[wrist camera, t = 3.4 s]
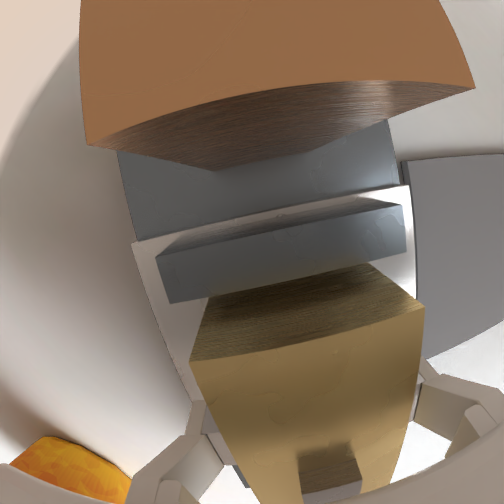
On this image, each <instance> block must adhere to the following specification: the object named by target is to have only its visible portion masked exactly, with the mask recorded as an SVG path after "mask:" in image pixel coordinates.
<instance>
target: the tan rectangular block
mask: <svg viewBox="0 0 504 504" xmlns="http://www.w3.org/2000/svg"><path fill="white" fill-rule="evenodd" d="M424 318H425V306H424V305H423V304H421V303H420V302H419V301H418V300H416V299H415V298H414V297H413V296H411V295H410V294H409V293H408V292H406V291H405V290H404V289H402V288H401V287H400V286H399V285H397V284H396V283H395V282H393V281H392V280H391V279H390V278H388V277H387V276H386V275H384V274H383V273H382V272H380V271H379V270H378V269H376V268H375V267H374V266H372V265H371V264H370V263H368V262H366V263H362V264H358V265H354V266H350V267H345V268H341V269H337V270H333V271H329V272H324V273H320V274H316V275H311V276H307V277H303V278H298V279H294V280H289V281H285V282H280V283H275V284H271V285H266V286H261V287H257V288H252V289H247V290H242V291H237V292H232V293H227V294H222V295H217V296H212V297H209V299H208V302H207V305H206V308H205V311H204V314H203V317H202V320H201V323H200V327H199V330H198V333H197V336H196V339H195V342H194V346H193V349H192V352H191V355H190V358H189V362H188V363H189V366H190V368H191V370H192V373H193V375H194V377H195V380H196V382H197V384H198V387H199V389H200V391H201V393H202V395H203V398H204V400H205V402H206V404H207V406H208V408H209V411H210V413H211V415H212V417H213V419H214V421H215V423H216V425H217V427H218V429H219V431H220V433H221V435H222V437H223V439H224V441H225V443H226V445H227V447H228V449H229V450H230V452H231V454H232V456H233V458H234V460H235V462H236V463H237V465H238V467H239V469H240V470H241V472H242V474H243V476H244V477H245V479H246V481H247V483H248V484H249V486H250V488H251V489H252V491H253V493H254V494H255V496H256V497H257V499H258V501H259V502H260V504H325V503H330V502H334V501H338V500H342V499H345V498H349V497H352V496H356V495H359V494H362V493H366V492H369V491H372V490H375V489H378V488H380V487H383V486H386V485H389V484H390V481H391V478H392V475H393V473H394V470H395V467H396V464H397V461H398V458H399V454H400V451H401V448H402V444H403V441H404V437H405V434H406V430H407V426H408V422H409V418H410V413H411V409H412V404H413V400H414V395H415V389H416V384H417V378H418V372H419V365H420V358H421V350H422V341H423V330H424Z"/></svg>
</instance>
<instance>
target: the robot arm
mask: <svg viewBox="0 0 504 504" xmlns="http://www.w3.org/2000/svg"><path fill="white" fill-rule="evenodd" d="M413 420H414V422H416V423H418V424H420V425H421V426H423V427H425V428H427V429H429V430H431V431H433V432H435V433H436V434H438V435H440V436H442V437H444V438H446V439H448V440H450V441H452V442H451V444H450V446H449V448H448V450H447V452H446V455H445V459H444V460H442V461H440V462H438V463H436V464H434V465H432V466H430V467H428V468H426V469H424V470H422V471H419V472H417V473H415V474H413V475H411V476H408V477H406V478H404V479H401V480H399V481H396V482H394V483H391V484H389V485H386V486H383V487H380V488H378V489H375V490H372V491H369V492H366V493H362V494H359V495H356V496H352V497H349V498H345V499H342V500H338V501H334V502H330V503H325V504H504V394H503V393H502V392H501V391H500V390H499V389H498V388H494V387H490V386H486V385H482V384H478V383H474V382H471V381H467V380H463V379H460V378H456V377H453V376H449V375H446V374H441V375H439V374H438V373H437V372H436V371H435V370H434V368H433V367H432V366H431V365H430V364H429V363H428V362H427V360H426V359H425V358H424V357H423V356H422V355H421V358H420V365H419V372H418V378H417V384H416V389H415V395H414V400H413V404H412V409H411V413H410V418H409V422H410V421H413ZM230 464H237V463H236V462H235V460H234V458H233V456H232V454H231V452H230V450H229V449H228V447H227V445H226V443H225V441H224V439H223V437H222V435H221V433H220V431H219V429H218V427H217V425H216V423H215V421H214V419H213V417H212V415H211V413H210V411H209V408H208V406H207V404H206V402H205V400H194V401H193V403H192V405H191V409H190V413H189V418H188V422H187V426H186V431H185V435H180V436H179V437H178V438H177V439H176V440H175V441H174V442H172V443H171V444H170V445H169V446H168V447H167V448H166V449H165V450H163V451H162V452H161V453H160V454H159V455H158V456H156V457H155V458H154V459H153V460H152V461H151V462H149V463H148V464H147V465H146V466H145V467H143V468H142V469H141V470H140V471H138V472H137V473H136V474H135V475H134V476H133V479H132V482H131V485H130V488H129V491H128V494H127V497H126V500H125V503H124V504H200V503H199V502H198V500H199V499H200V497H201V496H202V495H203V494H204V492H205V491H206V490H207V489H208V487H209V486H210V485H211V483H212V482H213V481H214V479H215V478H216V477H217V475H218V474H219V473H220V471H221V470H222V469H223V467H224V465H230ZM0 504H114V503H110V502H106V501H102V500H98V499H94V498H91V497H87V496H84V495H81V494H78V493H75V492H72V491H69V490H66V489H63V488H60V487H58V486H55V485H53V484H50V483H48V482H45V481H43V480H40V479H38V478H36V477H34V476H31V475H29V474H27V473H25V472H23V471H21V470H19V469H17V468H15V467H13V466H11V465H9V464H6V463H1V464H0Z"/></svg>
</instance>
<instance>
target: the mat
mask: <svg viewBox="0 0 504 504" xmlns="http://www.w3.org/2000/svg"><path fill="white" fill-rule="evenodd" d="M401 165H402V171H403V177H404V184H405V185H409V191H410V199H411V207H412V217H413V228H414V243H415V269H416V298H415V299H416V300H418V301H419V302H420V303H421V304H423V305H424V306H425V318H424V330H423V341H422V350H421V355H422V356H423V357H424V358H425V359H429V358H431V357H433V356H435V355H438V354H440V353H442V352H444V351H446V350H449V349H451V348H453V347H455V346H457V345H459V344H461V343H463V342H465V341H467V340H469V339H471V338H473V337H475V336H476V335H478V334H480V333H482V332H484V331H486V330H487V329H489V328H491V327H493V326H494V325H496V324H498V323H499V322H501V321H503V320H504V154H487V155H469V156H455V157H443V158H432V159H422V160H413V161H404V162H401Z"/></svg>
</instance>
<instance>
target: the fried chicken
mask: <svg viewBox="0 0 504 504" xmlns="http://www.w3.org/2000/svg"><path fill="white" fill-rule="evenodd" d="M9 465H11V466H13V467H15V468H17V469H19V470H21V471H23V472H25V473H27V474H29V475H31V476H34V477H36V478H38V479H40V480H43V481H45V482H48V483H50V484H53V485H55V486H58V487H60V488H63V489H66V490H69V491H72V492H75V493H78V494H81V495H84V496H87V497H91V498H94V499H98V500H102V501H106V502H110V503H114V504H124V503H125V500H126V497H127V494H128V491H129V488H130V485H131V482H132V480H131V479H130V478H129V477H128V476H126V475H125V474H124V473H123V472H122V471H121V470H120V469H119V468H118V467H117V466H115V465H114V464H112V463H110V462H108V461H106V460H105V459H103V458H101V457H99V456H97V455H96V454H94V453H92V452H91V451H89V450H87V449H86V448H84V447H83V446H81V445H78V444H74V443H71V442H68V441H66V440H63V439H60V438H57V437H55V436H53V437H42V438H41V439H39V440H38V441H36V442H35V443H34V444H32V445H31V446H30V447H29V448H28V449H26V450H25V451H24V452H23V453H22V454H20V455H19V456H18V457H17V458H16V459H14V460H13V461H12V462H11V463H10V464H9Z"/></svg>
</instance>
